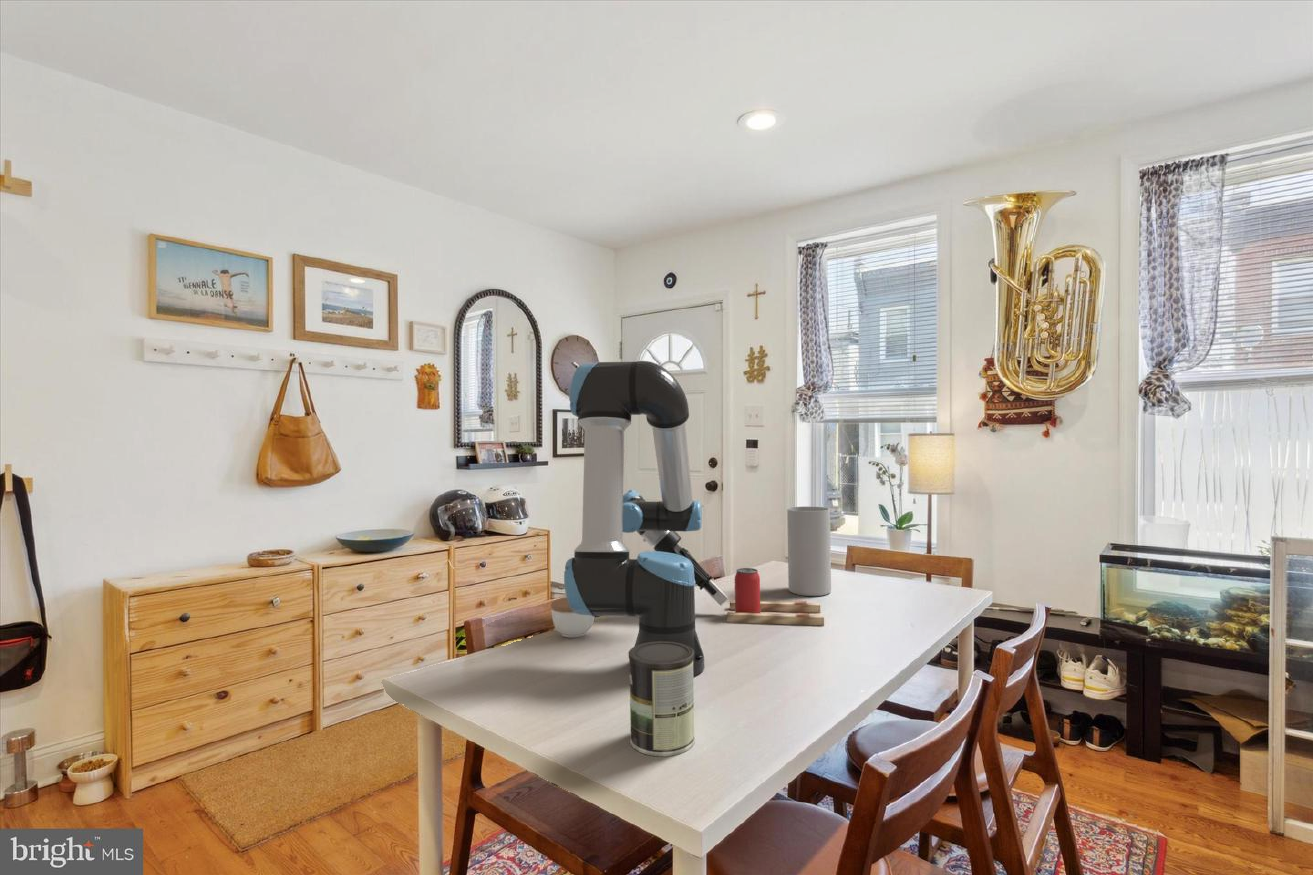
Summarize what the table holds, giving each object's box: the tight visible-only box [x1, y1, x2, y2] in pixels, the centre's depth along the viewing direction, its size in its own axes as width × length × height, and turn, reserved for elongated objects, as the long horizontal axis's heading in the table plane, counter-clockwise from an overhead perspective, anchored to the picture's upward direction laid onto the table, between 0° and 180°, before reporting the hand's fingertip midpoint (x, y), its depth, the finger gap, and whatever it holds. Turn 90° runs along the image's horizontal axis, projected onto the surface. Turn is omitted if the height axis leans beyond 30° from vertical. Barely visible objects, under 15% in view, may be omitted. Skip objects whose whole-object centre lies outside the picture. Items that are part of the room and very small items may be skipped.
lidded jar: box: [550, 597, 595, 638], centre depth 155 cm, size 11×11×9 cm
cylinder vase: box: [786, 506, 832, 597], centre depth 192 cm, size 12×12×25 cm
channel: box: [726, 600, 825, 627], centre depth 167 cm, size 24×14×2 cm, turn 80°
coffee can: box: [628, 641, 696, 757], centre depth 100 cm, size 10×10×14 cm
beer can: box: [734, 567, 761, 613], centre depth 168 cm, size 7×7×12 cm
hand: (724, 601), depth 170 cm, fingers closed
